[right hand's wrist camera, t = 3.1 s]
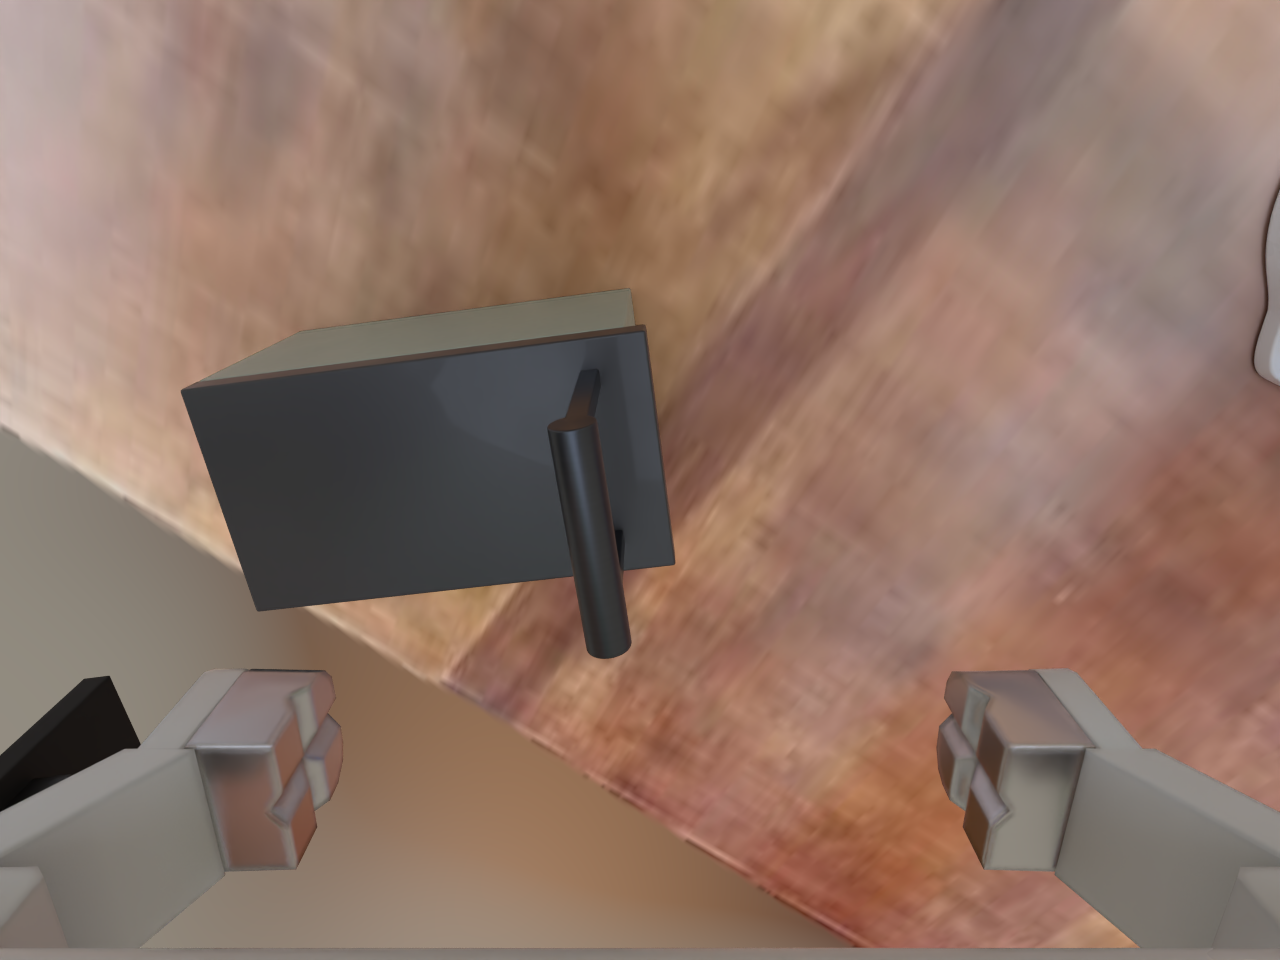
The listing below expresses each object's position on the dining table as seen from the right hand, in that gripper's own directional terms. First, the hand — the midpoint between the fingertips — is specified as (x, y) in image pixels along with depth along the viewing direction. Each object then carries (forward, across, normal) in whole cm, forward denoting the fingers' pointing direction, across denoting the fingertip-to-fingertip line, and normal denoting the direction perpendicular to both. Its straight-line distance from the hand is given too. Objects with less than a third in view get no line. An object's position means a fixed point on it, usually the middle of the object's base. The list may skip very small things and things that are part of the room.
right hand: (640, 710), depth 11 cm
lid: (+21, +8, +5) cm, 23 cm away
